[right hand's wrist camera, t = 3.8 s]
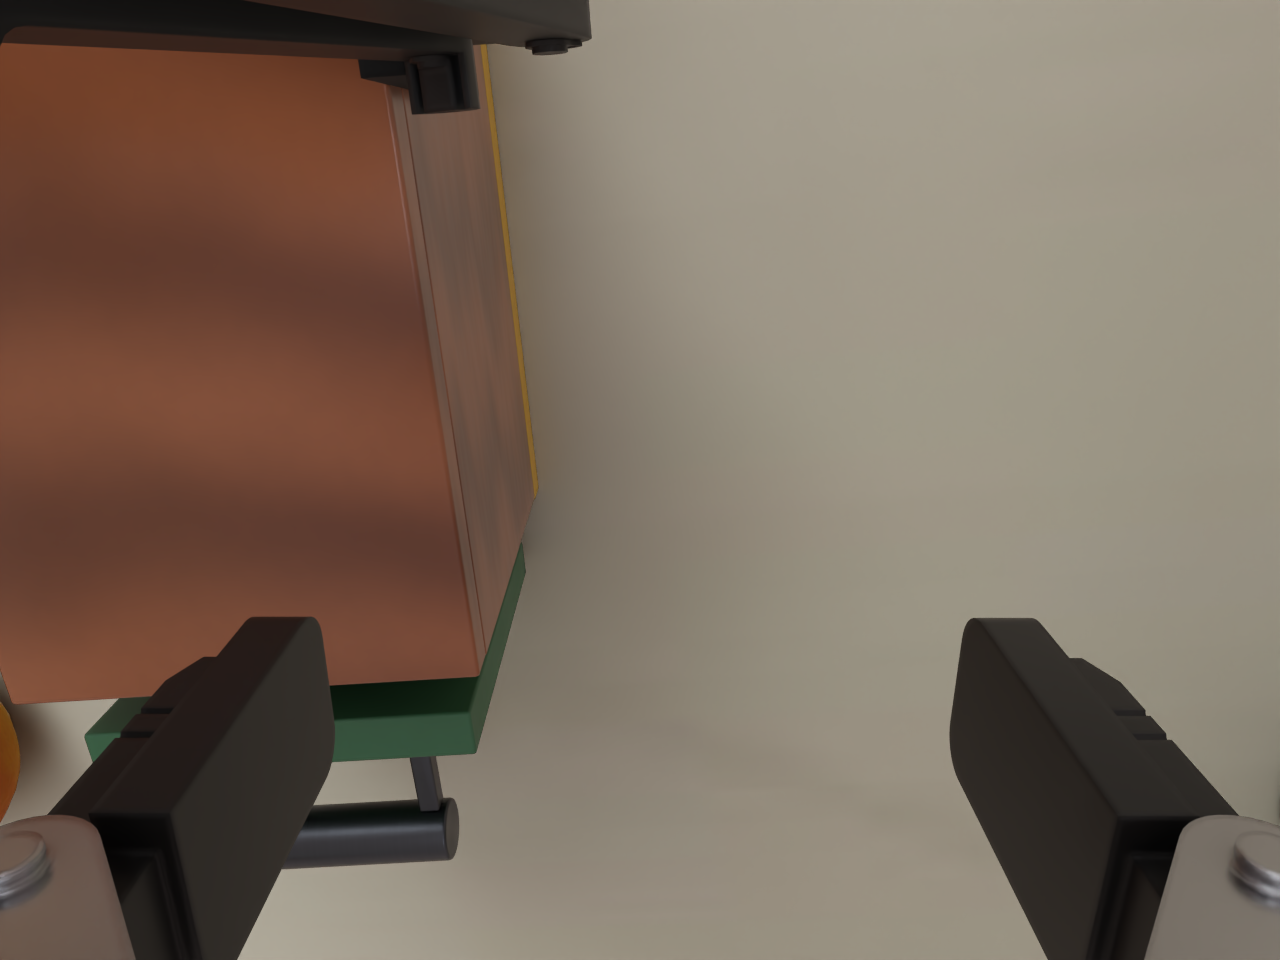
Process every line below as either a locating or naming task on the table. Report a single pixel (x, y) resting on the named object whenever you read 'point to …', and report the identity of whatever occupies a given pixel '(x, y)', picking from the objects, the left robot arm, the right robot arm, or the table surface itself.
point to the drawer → (386, 757)
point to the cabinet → (250, 369)
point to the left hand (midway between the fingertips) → (201, 50)
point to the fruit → (8, 760)
